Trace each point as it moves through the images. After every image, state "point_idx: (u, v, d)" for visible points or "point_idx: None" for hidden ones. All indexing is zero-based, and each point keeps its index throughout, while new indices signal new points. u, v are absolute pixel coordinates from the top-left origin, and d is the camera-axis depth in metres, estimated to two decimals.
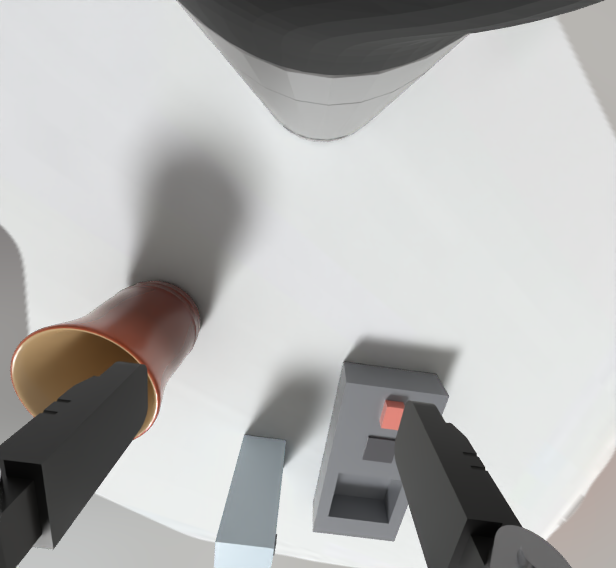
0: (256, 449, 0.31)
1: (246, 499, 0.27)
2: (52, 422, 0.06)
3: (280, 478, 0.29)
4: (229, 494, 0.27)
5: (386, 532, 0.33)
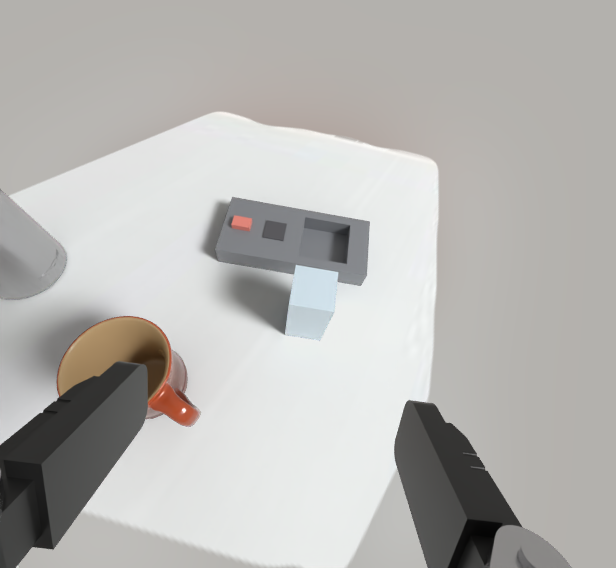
0: None
1: None
2: (52, 422, 0.06)
3: None
4: (287, 316, 0.33)
5: (360, 226, 0.44)
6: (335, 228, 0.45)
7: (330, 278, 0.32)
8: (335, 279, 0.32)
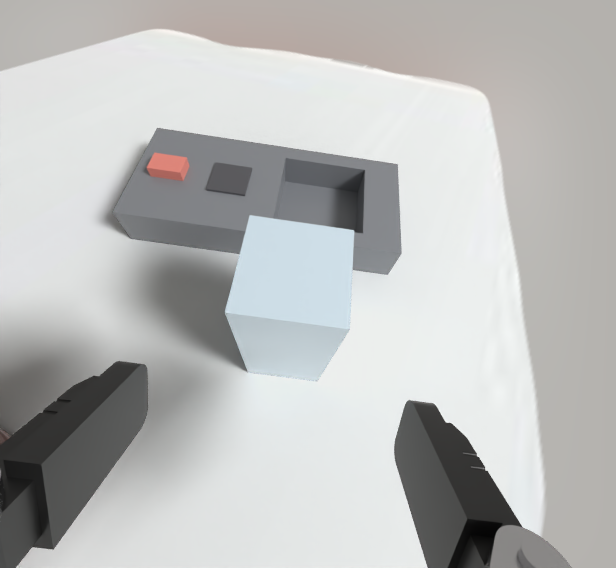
0: None
1: None
2: (52, 422, 0.06)
3: None
4: None
5: (382, 171, 0.25)
6: (338, 178, 0.26)
7: (335, 244, 0.13)
8: (348, 246, 0.13)
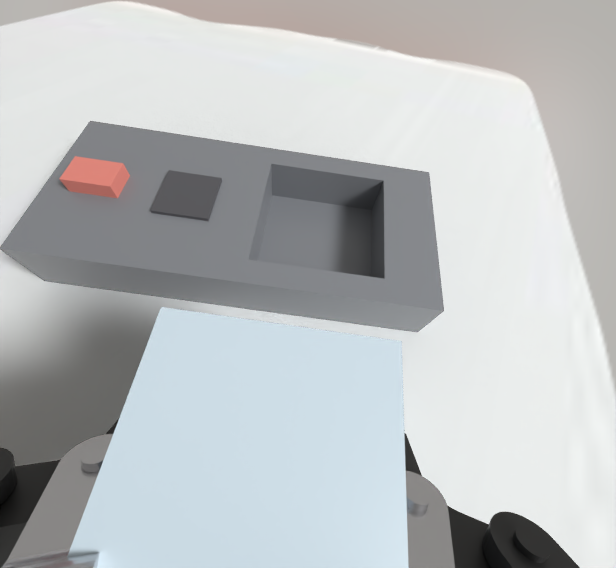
0: None
1: None
2: None
3: None
4: None
5: (408, 183, 0.18)
6: (346, 192, 0.19)
7: (360, 385, 0.05)
8: (390, 390, 0.05)
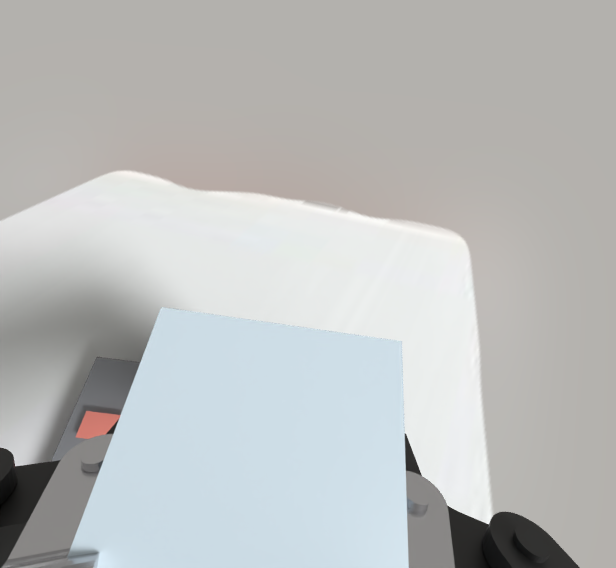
0: None
1: None
2: None
3: None
4: None
5: None
6: None
7: (361, 385, 0.05)
8: (390, 390, 0.05)
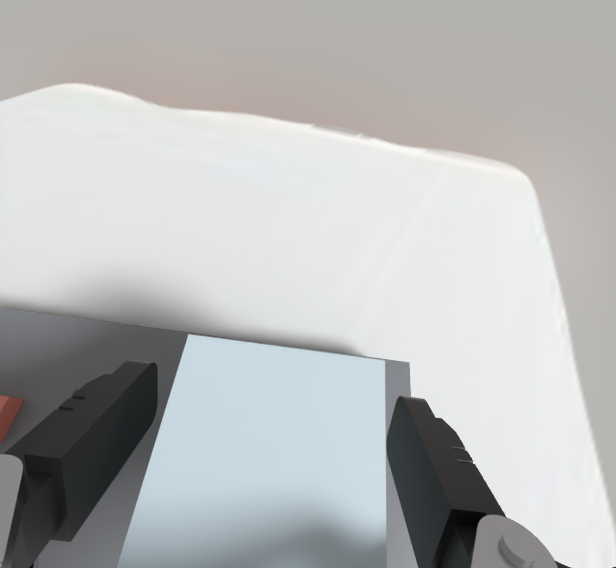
0: None
1: None
2: (68, 418, 0.07)
3: None
4: None
5: None
6: None
7: (351, 397, 0.07)
8: (374, 401, 0.07)
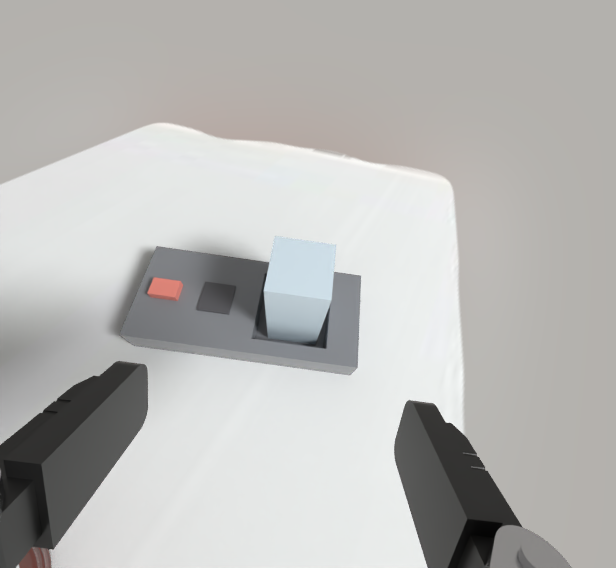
0: None
1: None
2: (52, 422, 0.06)
3: None
4: (265, 310, 0.23)
5: (347, 284, 0.30)
6: None
7: (325, 253, 0.22)
8: (332, 254, 0.22)
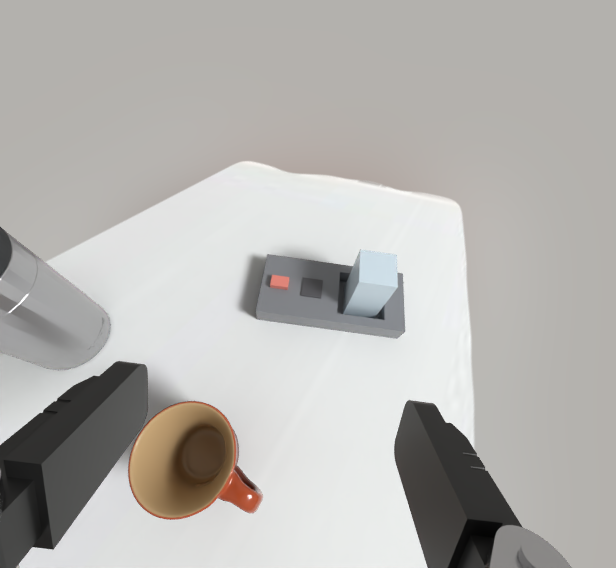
0: (345, 300, 0.43)
1: (353, 282, 0.39)
2: (51, 422, 0.06)
3: (350, 273, 0.42)
4: (352, 294, 0.38)
5: None
6: None
7: (390, 260, 0.37)
8: (395, 260, 0.37)
